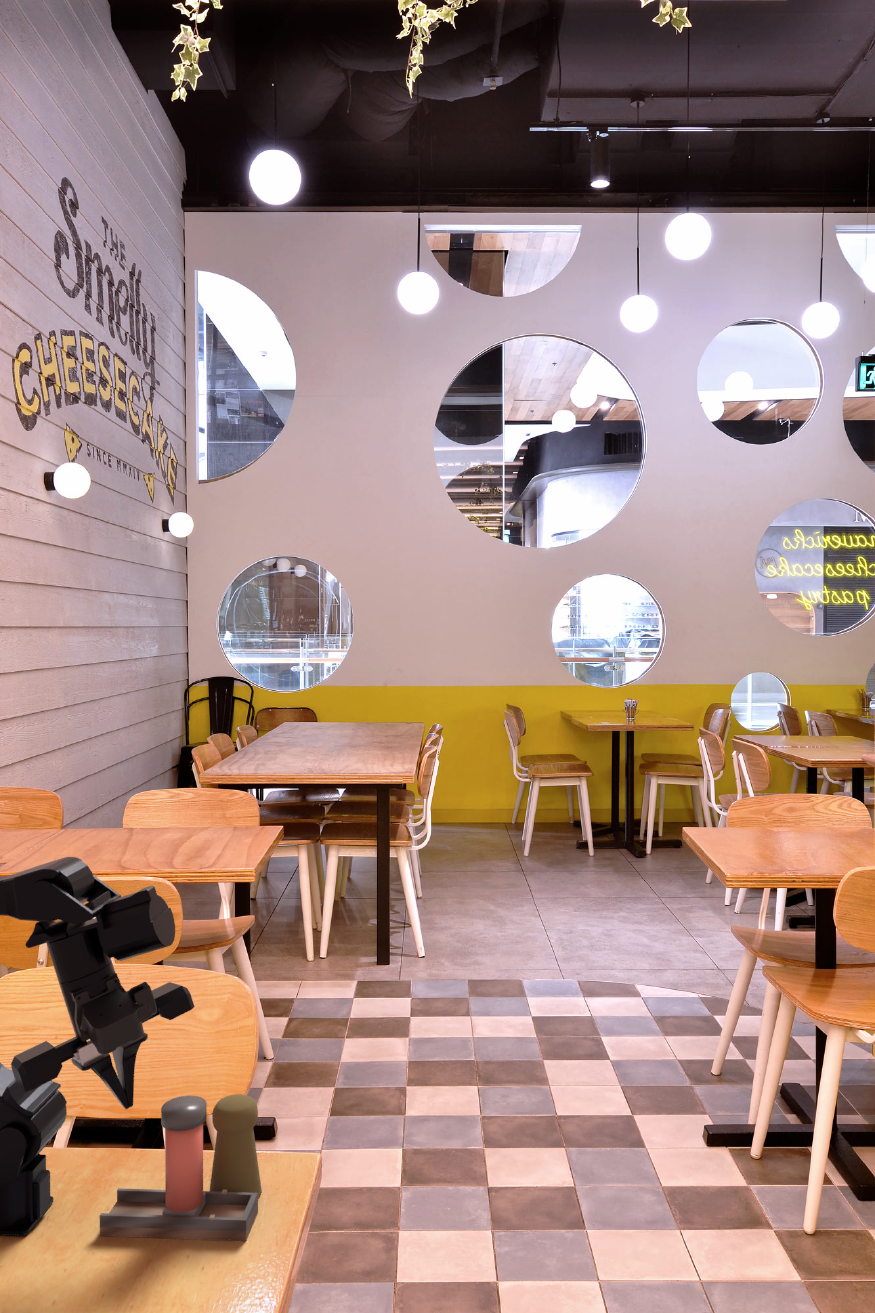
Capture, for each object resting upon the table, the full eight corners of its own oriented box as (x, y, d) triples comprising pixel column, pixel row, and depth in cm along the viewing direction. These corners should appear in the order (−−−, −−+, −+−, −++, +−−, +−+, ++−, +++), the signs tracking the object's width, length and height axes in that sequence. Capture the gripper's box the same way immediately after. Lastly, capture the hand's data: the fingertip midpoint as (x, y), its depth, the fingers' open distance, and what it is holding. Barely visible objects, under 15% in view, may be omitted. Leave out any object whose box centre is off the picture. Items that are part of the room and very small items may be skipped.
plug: (155, 1225, 99) (154, 1116, 99) (170, 1198, 104) (170, 1095, 104) (199, 1226, 99) (198, 1117, 99) (212, 1200, 104) (212, 1096, 104)
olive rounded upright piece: (249, 1213, 103) (249, 1115, 103) (199, 1206, 105) (199, 1110, 104) (269, 1182, 109) (269, 1090, 109) (222, 1176, 110) (221, 1085, 110)
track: (99, 1236, 99) (99, 1214, 99) (118, 1207, 104) (118, 1186, 104) (245, 1241, 98) (245, 1219, 98) (258, 1212, 104) (258, 1190, 103)
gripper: (10, 1021, 90) (59, 1175, 90) (188, 940, 101) (232, 1077, 101) (-9, 1008, 99) (35, 1147, 99) (157, 934, 110) (197, 1060, 110)
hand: (128, 1107), depth 102 cm, fingers closed
